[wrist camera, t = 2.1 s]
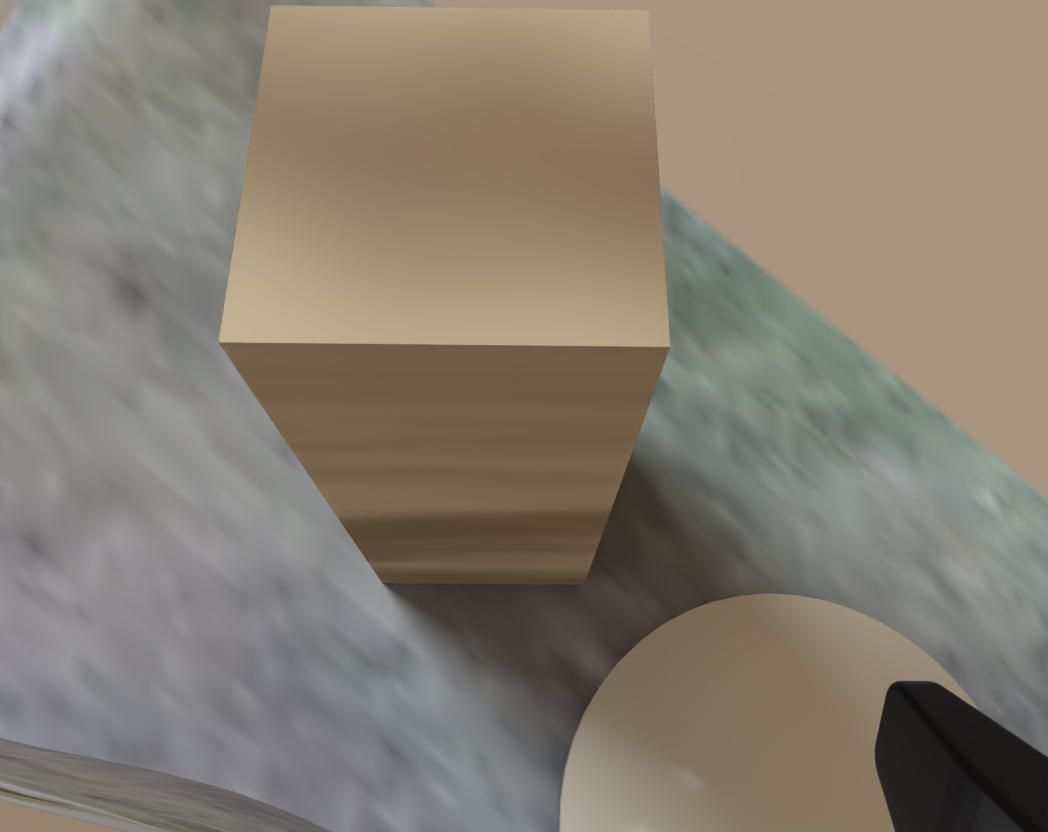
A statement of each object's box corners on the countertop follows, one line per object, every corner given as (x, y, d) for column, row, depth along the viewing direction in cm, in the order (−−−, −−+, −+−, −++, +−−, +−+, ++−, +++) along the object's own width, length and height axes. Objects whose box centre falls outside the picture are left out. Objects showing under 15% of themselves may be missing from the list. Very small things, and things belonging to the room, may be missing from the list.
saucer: (1100, 958, 19) (1137, 970, 18) (686, 1197, 17) (698, 1227, 16) (852, 540, 22) (870, 528, 21) (489, 706, 21) (487, 701, 19)
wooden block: (583, 585, 22) (669, 346, 10) (382, 582, 22) (218, 342, 10) (580, 400, 24) (648, 10, 12) (395, 398, 24) (271, 5, 12)
